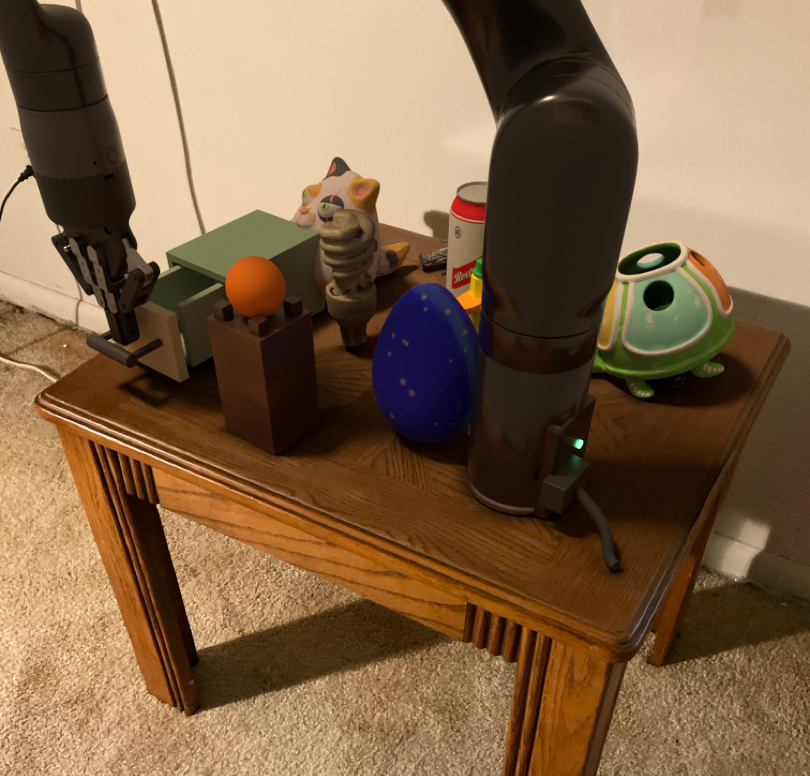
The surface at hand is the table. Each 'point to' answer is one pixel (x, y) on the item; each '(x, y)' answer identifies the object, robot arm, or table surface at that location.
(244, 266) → the ball
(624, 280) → the turtle holder
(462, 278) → the beer can
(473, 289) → the toy figure
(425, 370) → the ornament
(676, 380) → the toy car
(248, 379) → the stand
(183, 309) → the drawer
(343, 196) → the figurine
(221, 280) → the cabinet
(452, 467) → the table surface
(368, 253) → the light bulb
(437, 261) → the angel statue
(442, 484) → the table surface
